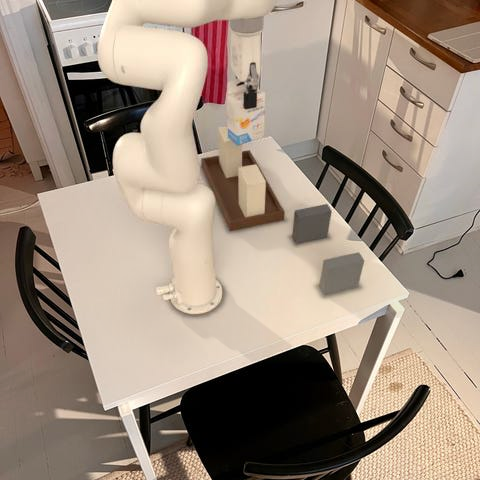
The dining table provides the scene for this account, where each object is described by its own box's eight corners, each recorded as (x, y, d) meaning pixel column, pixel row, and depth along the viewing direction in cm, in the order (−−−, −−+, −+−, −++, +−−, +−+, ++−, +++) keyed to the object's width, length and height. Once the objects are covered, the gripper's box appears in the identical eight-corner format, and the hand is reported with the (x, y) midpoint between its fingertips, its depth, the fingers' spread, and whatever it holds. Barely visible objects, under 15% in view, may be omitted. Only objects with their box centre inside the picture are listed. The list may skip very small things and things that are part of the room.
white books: (247, 221, 137) (247, 184, 128) (219, 163, 155) (217, 127, 146) (264, 218, 138) (265, 181, 129) (234, 160, 156) (234, 124, 147)
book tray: (229, 231, 136) (229, 222, 134) (201, 166, 156) (201, 158, 153) (283, 220, 139) (284, 211, 137) (249, 158, 159) (249, 150, 156)
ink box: (237, 146, 129) (237, 90, 118) (227, 138, 132) (225, 81, 120) (264, 137, 132) (266, 80, 120) (254, 128, 135) (255, 72, 123)
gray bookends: (323, 295, 121) (328, 268, 115) (291, 237, 135) (294, 210, 128) (357, 287, 123) (364, 260, 116) (322, 230, 136) (327, 203, 130)
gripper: (219, 9, 115) (222, 87, 129) (241, 39, 104) (241, 121, 118) (251, 5, 116) (250, 83, 130) (275, 35, 106) (271, 116, 120)
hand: (246, 100), depth 124 cm, fingers closed on ink box, 6 cm apart
